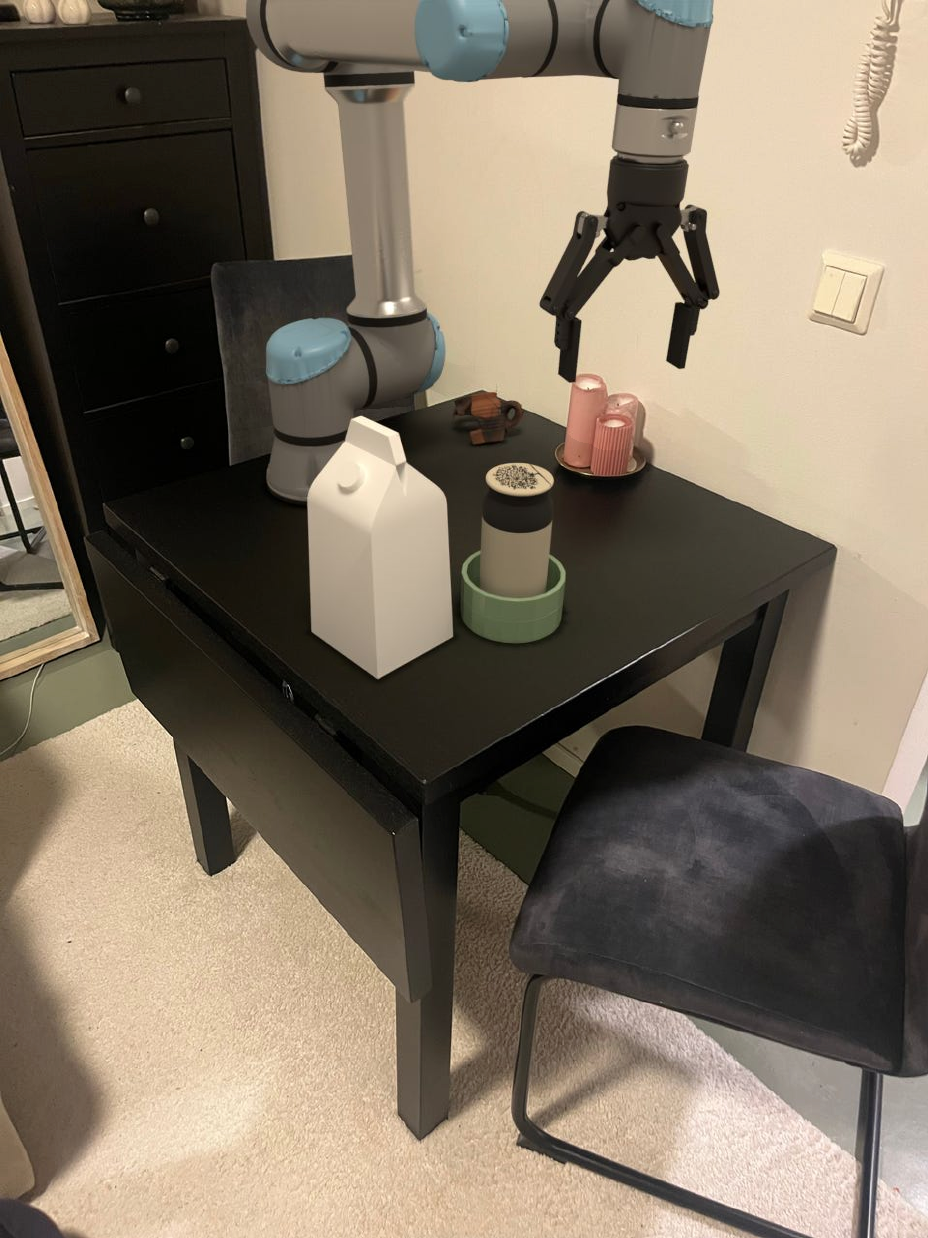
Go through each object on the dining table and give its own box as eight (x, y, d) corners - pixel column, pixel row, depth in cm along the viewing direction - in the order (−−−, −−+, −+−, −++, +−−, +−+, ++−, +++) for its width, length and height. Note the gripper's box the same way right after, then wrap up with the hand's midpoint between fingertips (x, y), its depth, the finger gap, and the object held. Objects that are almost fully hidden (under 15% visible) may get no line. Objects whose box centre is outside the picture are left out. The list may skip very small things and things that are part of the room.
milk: (453, 636, 105) (457, 428, 90) (377, 679, 99) (368, 462, 84) (386, 594, 112) (379, 394, 97) (311, 631, 106) (291, 423, 91)
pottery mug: (455, 449, 148) (445, 399, 147) (463, 451, 158) (454, 404, 157) (526, 434, 147) (517, 383, 146) (530, 437, 156) (521, 389, 155)
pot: (440, 613, 109) (440, 572, 106) (505, 575, 117) (507, 534, 113) (517, 656, 103) (520, 613, 99) (581, 612, 110) (586, 571, 107)
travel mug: (487, 634, 105) (494, 496, 95) (471, 597, 112) (475, 464, 101) (552, 626, 107) (565, 490, 97) (532, 589, 113) (543, 458, 103)
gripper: (550, 167, 80) (533, 396, 92) (781, 157, 87) (737, 370, 100) (515, 153, 85) (504, 371, 98) (735, 145, 93) (699, 348, 105)
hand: (622, 371), depth 99 cm, fingers open, 13 cm apart
